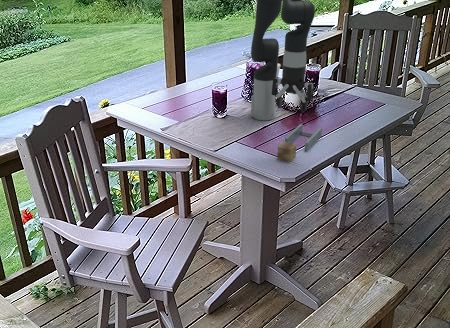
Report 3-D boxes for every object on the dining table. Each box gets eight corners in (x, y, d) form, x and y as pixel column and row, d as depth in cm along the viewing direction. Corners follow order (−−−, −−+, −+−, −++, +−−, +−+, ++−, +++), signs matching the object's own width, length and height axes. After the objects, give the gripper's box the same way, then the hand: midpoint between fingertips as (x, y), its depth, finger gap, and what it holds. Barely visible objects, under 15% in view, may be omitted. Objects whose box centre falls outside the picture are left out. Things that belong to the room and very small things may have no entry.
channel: (284, 146, 193) (284, 138, 192) (299, 132, 206) (300, 123, 204) (307, 151, 190) (307, 143, 188) (321, 136, 202) (322, 128, 201)
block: (277, 159, 184) (278, 146, 182) (282, 154, 188) (283, 141, 186) (290, 162, 182) (291, 149, 180) (295, 157, 186) (296, 144, 184)
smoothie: (278, 85, 259) (280, 57, 252) (266, 84, 260) (267, 57, 254) (280, 81, 264) (281, 54, 258) (267, 80, 266) (269, 53, 259)
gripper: (269, 63, 170) (267, 109, 177) (310, 69, 164) (306, 117, 171) (278, 58, 176) (276, 103, 183) (318, 63, 170) (314, 110, 177)
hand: (291, 109), depth 177 cm, fingers open, 8 cm apart
